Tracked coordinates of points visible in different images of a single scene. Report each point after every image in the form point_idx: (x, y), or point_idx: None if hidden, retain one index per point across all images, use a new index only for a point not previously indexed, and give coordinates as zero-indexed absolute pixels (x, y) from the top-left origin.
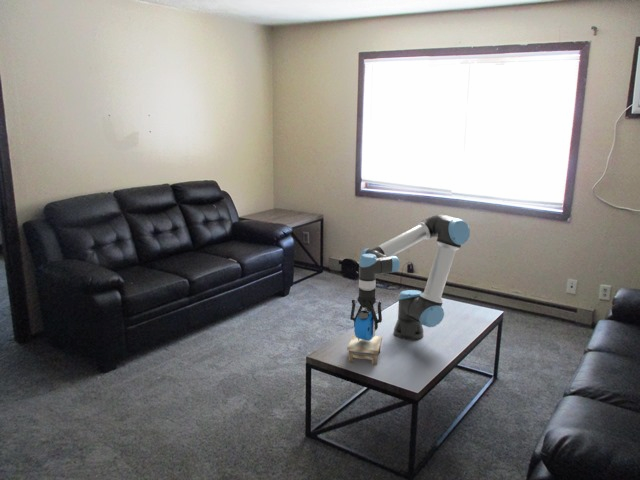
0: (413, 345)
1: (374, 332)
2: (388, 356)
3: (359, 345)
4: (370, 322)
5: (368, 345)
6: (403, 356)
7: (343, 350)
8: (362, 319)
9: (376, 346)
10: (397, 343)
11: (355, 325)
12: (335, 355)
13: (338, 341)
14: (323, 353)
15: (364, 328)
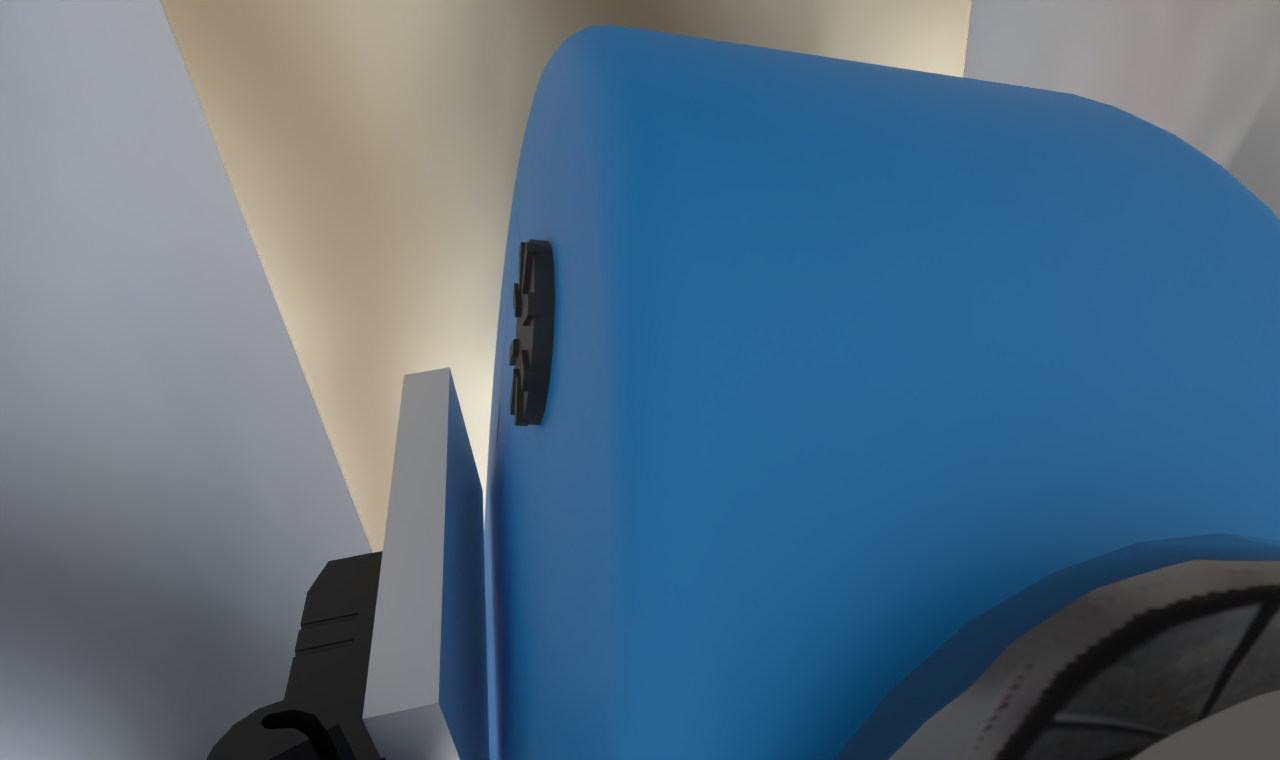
0: (109, 728)
1: (396, 460)
2: (248, 345)
3: None
4: (540, 688)
5: (509, 163)
6: (38, 435)
7: None
8: (1173, 547)
9: (305, 184)
10: None
11: (1243, 195)
12: (1039, 47)
13: None
14: (1219, 42)
15: (706, 93)
